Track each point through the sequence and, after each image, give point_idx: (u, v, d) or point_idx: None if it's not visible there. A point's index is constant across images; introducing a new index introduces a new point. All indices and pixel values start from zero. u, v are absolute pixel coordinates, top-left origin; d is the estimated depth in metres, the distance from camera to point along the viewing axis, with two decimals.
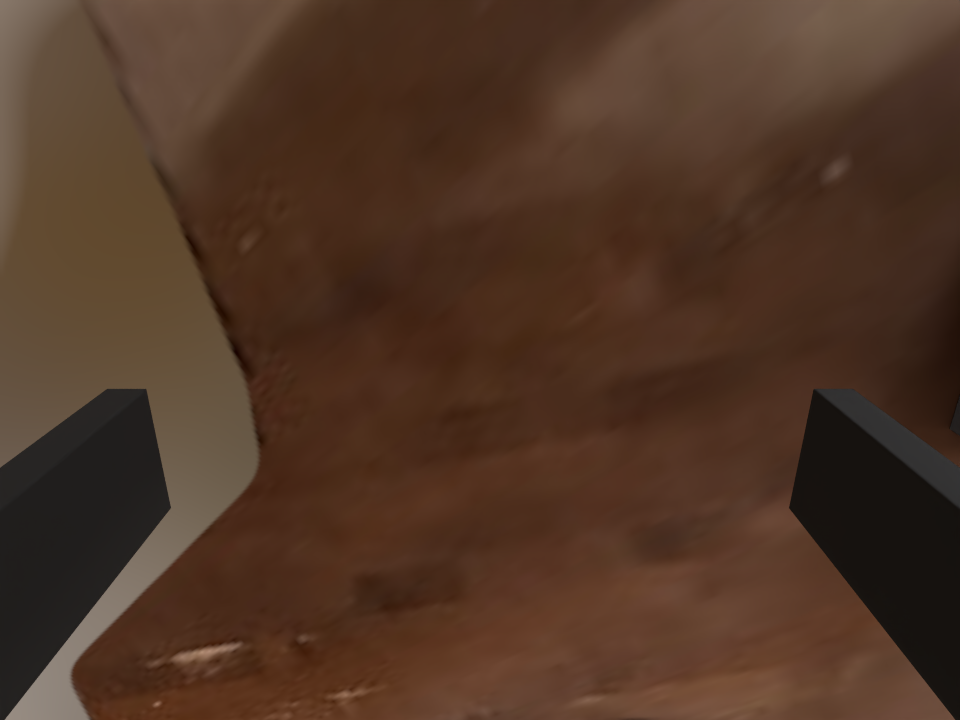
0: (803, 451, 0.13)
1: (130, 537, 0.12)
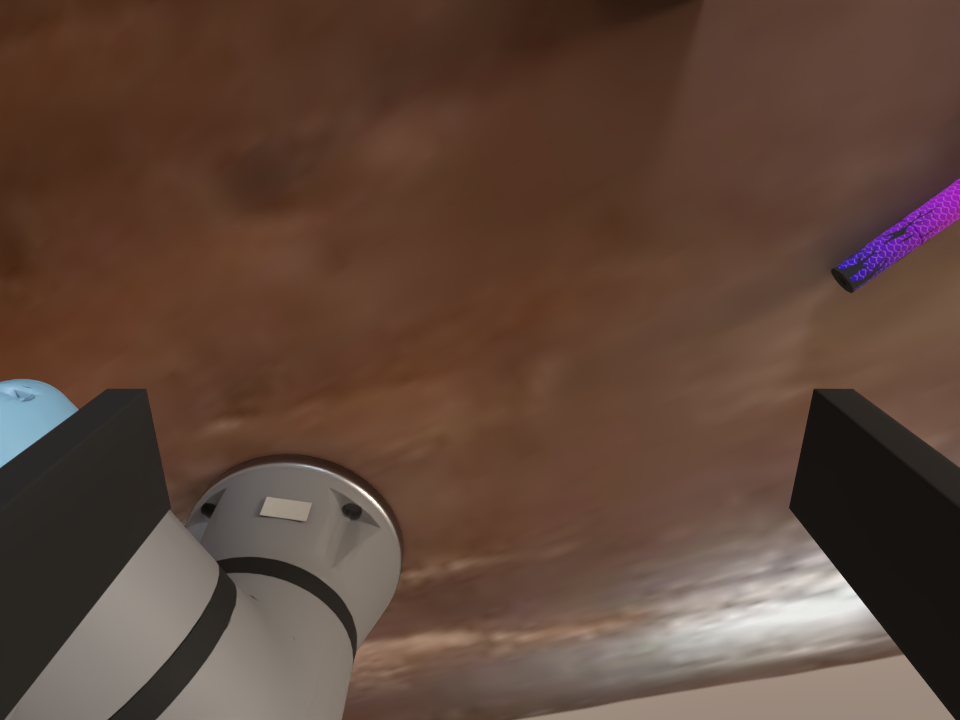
0: (802, 451, 0.13)
1: (130, 537, 0.12)
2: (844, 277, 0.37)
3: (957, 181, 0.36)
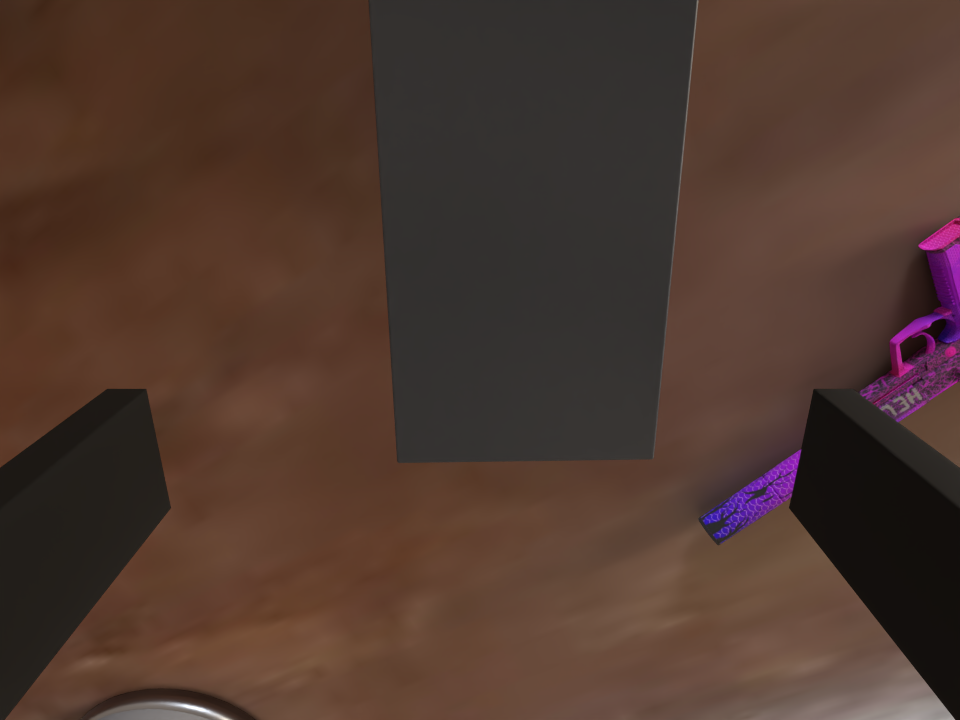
0: (803, 451, 0.13)
1: (130, 537, 0.12)
2: (708, 533, 0.37)
3: None
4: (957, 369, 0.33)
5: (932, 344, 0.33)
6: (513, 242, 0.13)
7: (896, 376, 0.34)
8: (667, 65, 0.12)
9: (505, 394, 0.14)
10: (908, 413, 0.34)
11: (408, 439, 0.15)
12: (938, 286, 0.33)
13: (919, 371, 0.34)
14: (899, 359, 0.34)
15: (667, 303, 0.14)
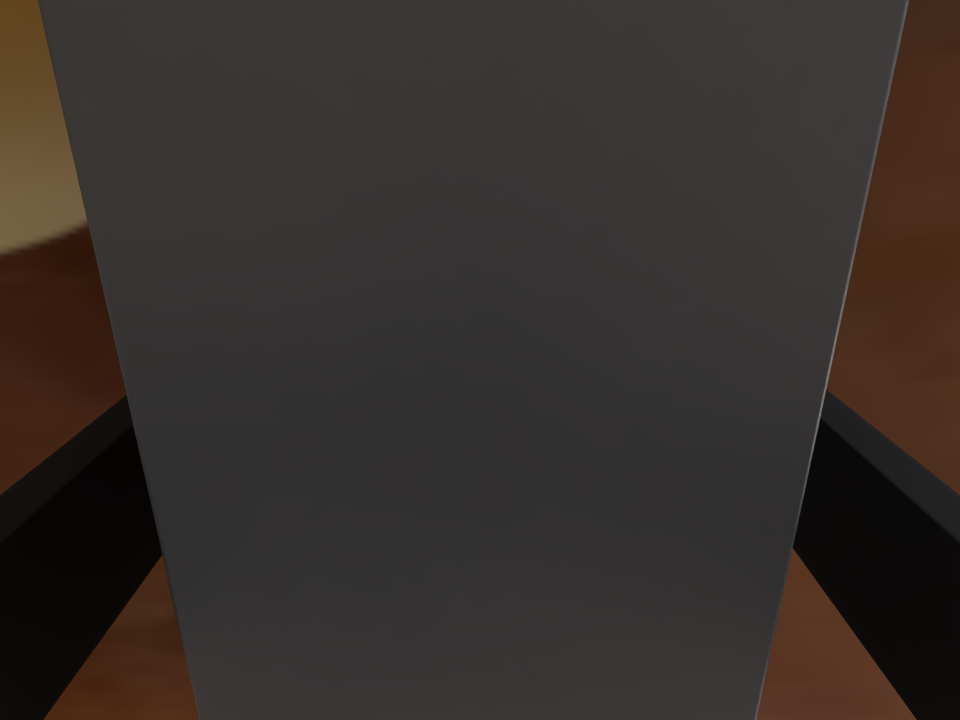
0: None
1: None
2: None
3: None
4: None
5: None
6: (442, 621, 0.06)
7: None
8: (787, 301, 0.05)
9: None
10: None
11: None
12: None
13: None
14: None
15: (753, 716, 0.07)
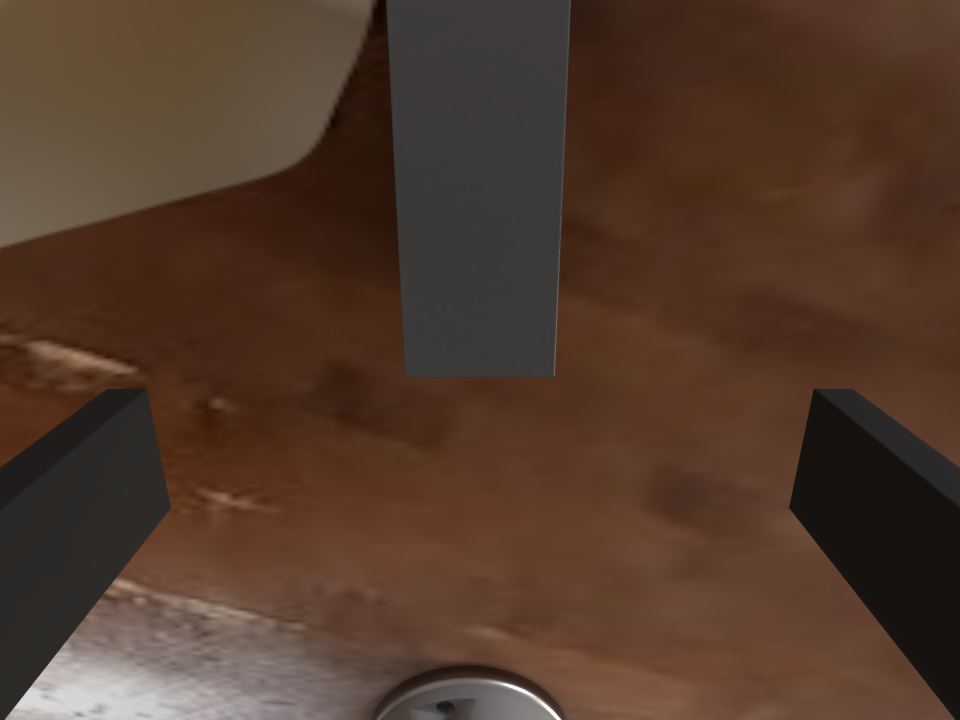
0: (802, 451, 0.13)
1: (130, 537, 0.12)
2: None
3: None
4: None
5: None
6: (469, 250, 0.23)
7: None
8: (550, 157, 0.22)
9: (466, 336, 0.25)
10: None
11: (411, 363, 0.25)
12: None
13: None
14: None
15: (557, 285, 0.24)
